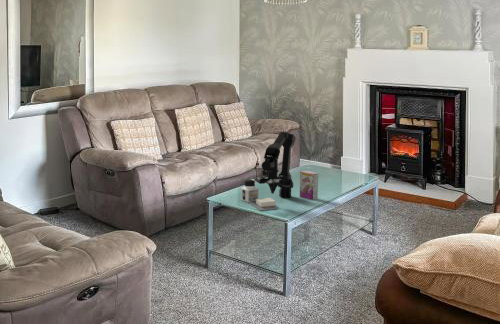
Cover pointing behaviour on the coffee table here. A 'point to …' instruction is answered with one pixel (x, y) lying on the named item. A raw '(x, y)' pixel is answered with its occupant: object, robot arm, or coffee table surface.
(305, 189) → the candy bar box
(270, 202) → the cream rectangular block
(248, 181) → the container
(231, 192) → the coffee table surface
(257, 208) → the mat
